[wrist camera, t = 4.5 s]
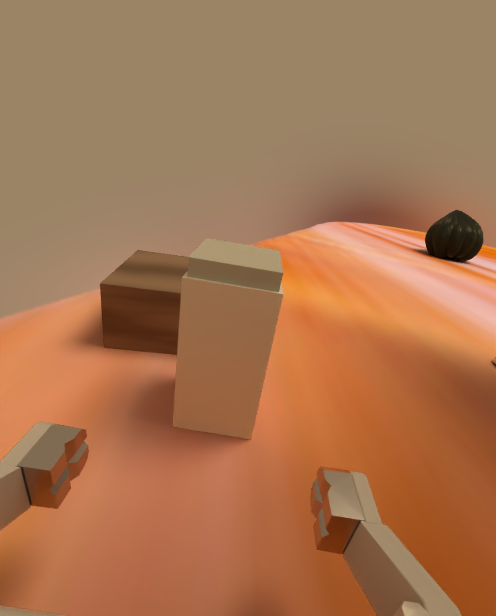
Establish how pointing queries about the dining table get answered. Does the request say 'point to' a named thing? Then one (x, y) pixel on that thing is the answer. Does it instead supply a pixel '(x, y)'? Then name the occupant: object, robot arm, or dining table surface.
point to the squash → (455, 237)
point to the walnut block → (143, 303)
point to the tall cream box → (225, 336)
